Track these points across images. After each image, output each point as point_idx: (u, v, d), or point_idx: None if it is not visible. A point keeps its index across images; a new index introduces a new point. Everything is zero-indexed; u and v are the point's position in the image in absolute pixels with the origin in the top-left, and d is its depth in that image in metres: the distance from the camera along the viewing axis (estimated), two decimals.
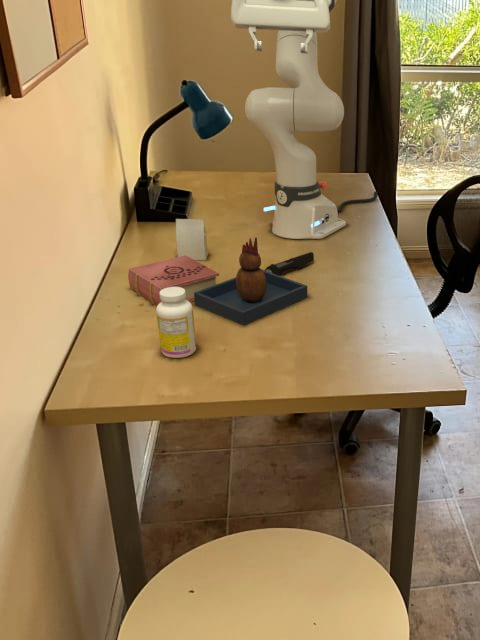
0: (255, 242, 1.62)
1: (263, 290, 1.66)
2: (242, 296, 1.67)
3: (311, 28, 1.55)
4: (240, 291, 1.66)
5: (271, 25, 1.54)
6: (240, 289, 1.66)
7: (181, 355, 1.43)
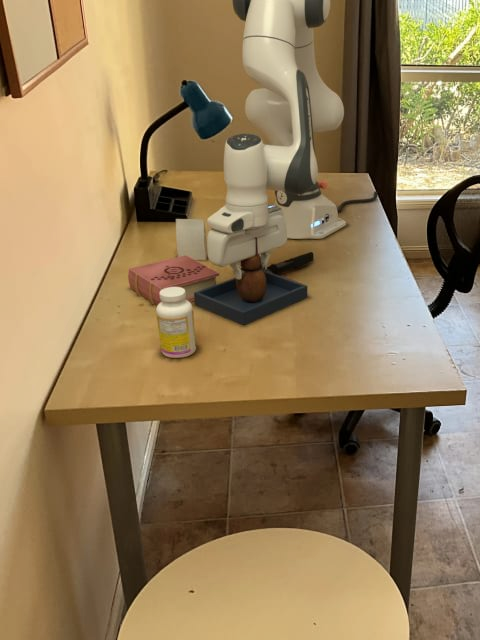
0: None
1: (263, 290, 1.66)
2: (242, 296, 1.67)
3: (274, 248, 1.68)
4: (240, 291, 1.66)
5: (248, 257, 1.62)
6: (240, 289, 1.66)
7: (181, 355, 1.43)
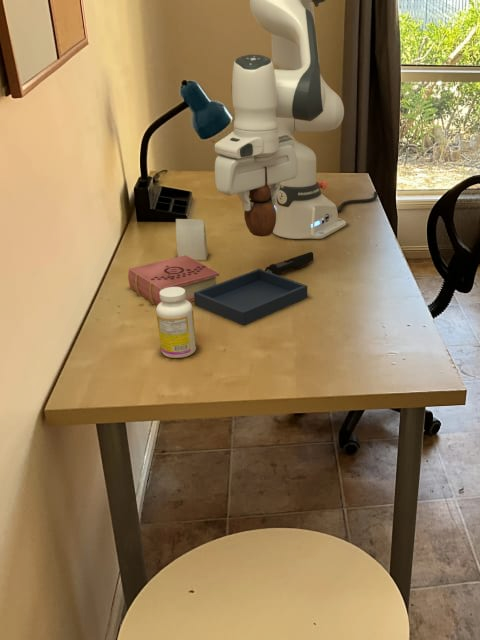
0: (265, 172, 1.55)
1: (273, 224, 1.59)
2: (251, 230, 1.60)
3: (284, 180, 1.61)
4: (249, 225, 1.59)
5: (257, 187, 1.55)
6: (249, 223, 1.59)
7: (181, 355, 1.43)
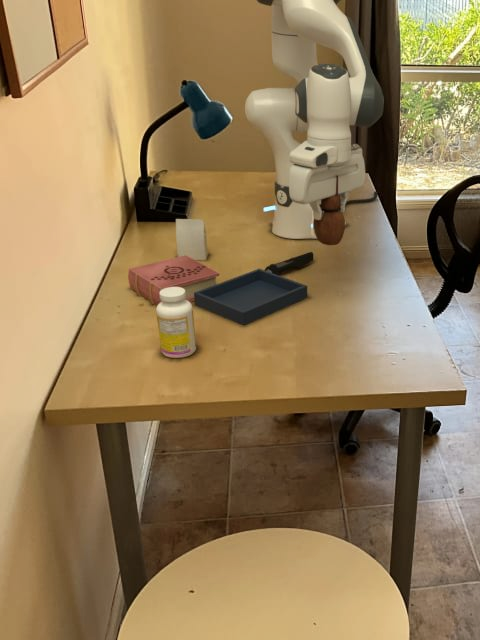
0: (336, 180, 1.55)
1: (342, 232, 1.59)
2: (320, 239, 1.59)
3: None
4: (318, 233, 1.59)
5: (329, 196, 1.54)
6: (318, 231, 1.59)
7: (181, 355, 1.43)
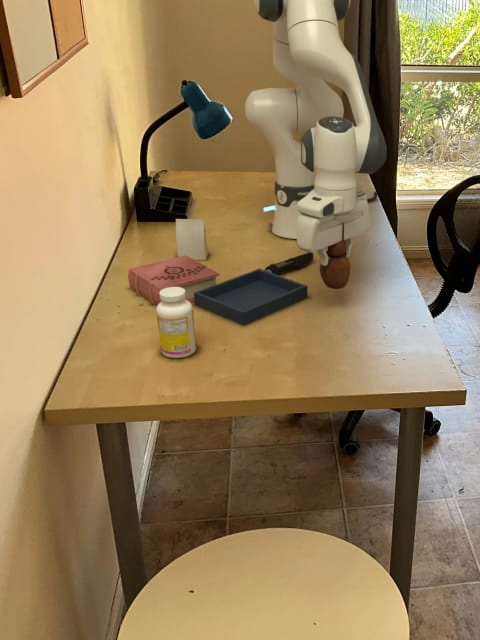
0: (342, 227, 1.59)
1: (348, 277, 1.64)
2: (326, 283, 1.64)
3: (358, 234, 1.65)
4: (324, 278, 1.63)
5: (335, 243, 1.59)
6: (324, 276, 1.63)
7: (181, 355, 1.43)
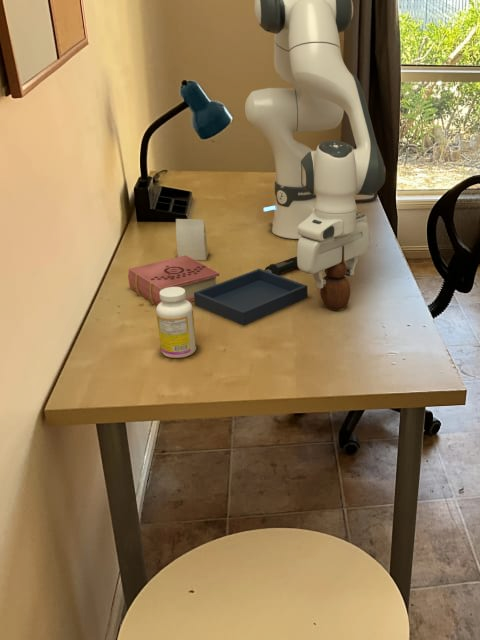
0: (342, 250, 1.61)
1: (348, 298, 1.66)
2: (326, 304, 1.66)
3: None
4: (325, 299, 1.66)
5: (335, 264, 1.61)
6: (325, 298, 1.65)
7: (181, 355, 1.43)
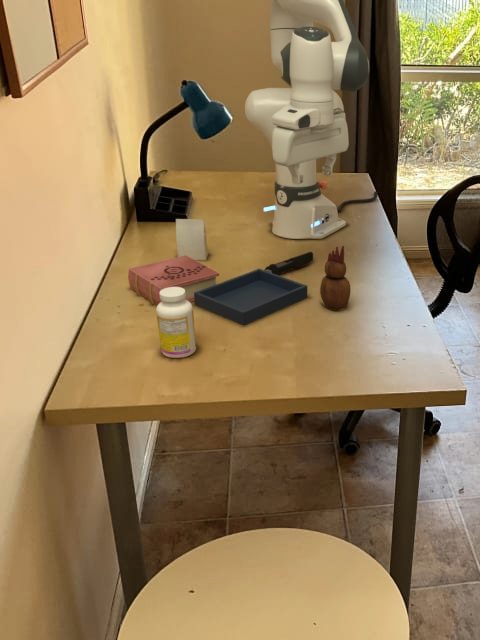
0: (342, 250, 1.61)
1: (348, 298, 1.66)
2: (326, 304, 1.66)
3: (336, 153, 1.63)
4: (325, 299, 1.66)
5: (312, 159, 1.57)
6: (325, 298, 1.65)
7: (181, 355, 1.43)
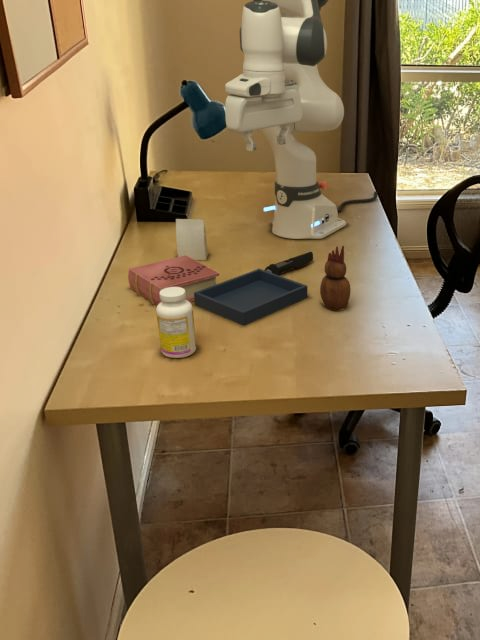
0: (342, 250, 1.61)
1: (348, 298, 1.66)
2: (326, 304, 1.66)
3: (290, 123, 1.71)
4: (325, 299, 1.66)
5: (264, 127, 1.65)
6: (325, 298, 1.65)
7: (181, 355, 1.43)
